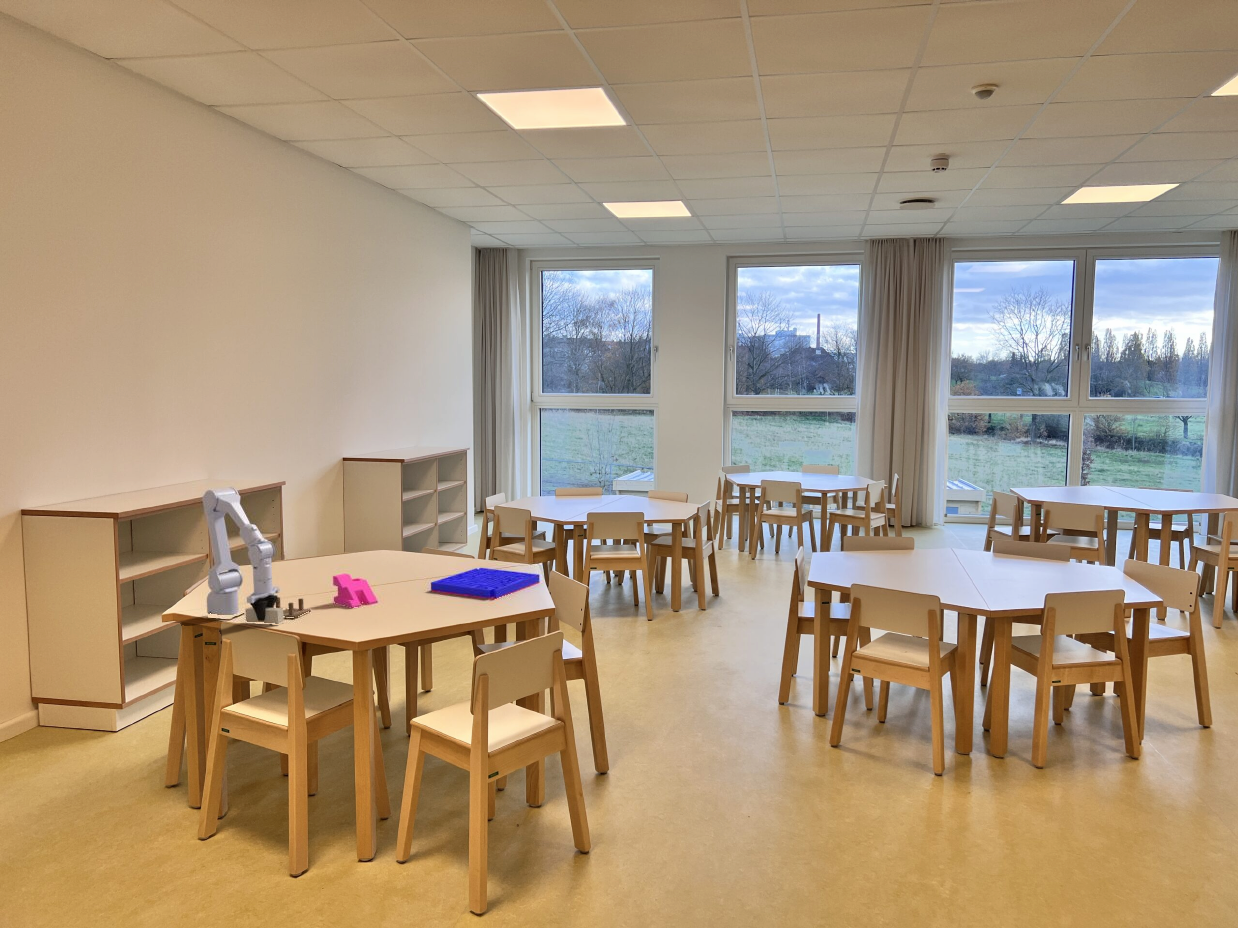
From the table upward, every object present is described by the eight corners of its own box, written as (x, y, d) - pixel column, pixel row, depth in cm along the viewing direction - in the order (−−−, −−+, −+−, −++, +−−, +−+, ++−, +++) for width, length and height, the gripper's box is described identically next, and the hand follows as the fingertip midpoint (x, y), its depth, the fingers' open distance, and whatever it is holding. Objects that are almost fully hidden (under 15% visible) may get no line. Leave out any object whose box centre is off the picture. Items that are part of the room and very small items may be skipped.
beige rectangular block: (246, 623, 275) (245, 608, 274) (251, 621, 278) (251, 606, 277) (278, 625, 272) (277, 610, 272) (283, 622, 275) (283, 608, 275)
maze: (431, 592, 318) (430, 582, 318) (479, 576, 344) (478, 567, 344) (494, 601, 304) (494, 590, 304) (539, 584, 330) (539, 574, 330)
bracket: (333, 603, 300) (332, 575, 300) (358, 598, 308) (357, 571, 308) (352, 609, 293) (351, 580, 292) (377, 603, 301) (376, 575, 300)
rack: (258, 616, 283) (257, 602, 282) (274, 610, 292) (274, 596, 291) (295, 618, 280) (294, 604, 279) (310, 612, 289) (309, 597, 288)
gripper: (259, 584, 266) (261, 625, 267) (286, 574, 280) (288, 613, 281) (240, 583, 267) (242, 624, 269) (268, 573, 281) (270, 612, 283)
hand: (264, 619), depth 275 cm, fingers closed on beige rectangular block, 3 cm apart
